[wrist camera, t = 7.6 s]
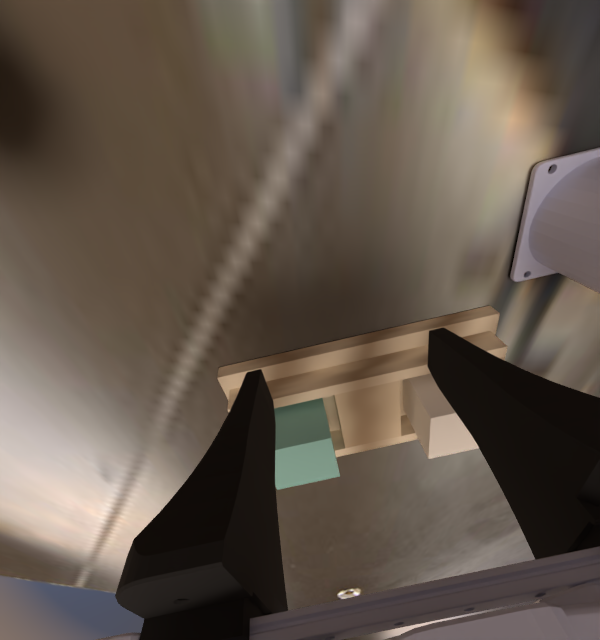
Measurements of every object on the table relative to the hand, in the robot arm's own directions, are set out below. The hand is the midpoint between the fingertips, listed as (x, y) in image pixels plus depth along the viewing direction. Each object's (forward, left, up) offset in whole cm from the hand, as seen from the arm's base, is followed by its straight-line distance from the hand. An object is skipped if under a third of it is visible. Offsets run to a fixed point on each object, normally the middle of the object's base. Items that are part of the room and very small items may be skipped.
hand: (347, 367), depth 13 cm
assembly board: (-2, +12, -9) cm, 15 cm away
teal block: (+4, +12, -8) cm, 15 cm away
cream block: (-8, +12, -8) cm, 17 cm away
